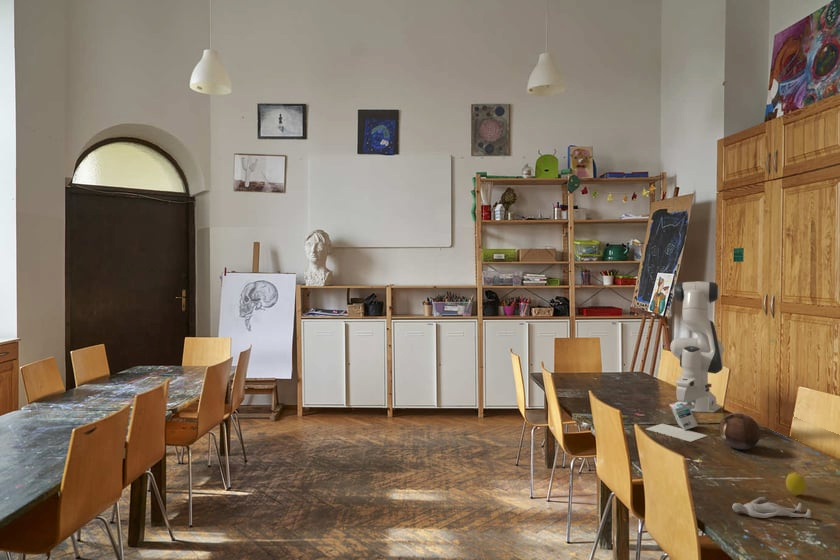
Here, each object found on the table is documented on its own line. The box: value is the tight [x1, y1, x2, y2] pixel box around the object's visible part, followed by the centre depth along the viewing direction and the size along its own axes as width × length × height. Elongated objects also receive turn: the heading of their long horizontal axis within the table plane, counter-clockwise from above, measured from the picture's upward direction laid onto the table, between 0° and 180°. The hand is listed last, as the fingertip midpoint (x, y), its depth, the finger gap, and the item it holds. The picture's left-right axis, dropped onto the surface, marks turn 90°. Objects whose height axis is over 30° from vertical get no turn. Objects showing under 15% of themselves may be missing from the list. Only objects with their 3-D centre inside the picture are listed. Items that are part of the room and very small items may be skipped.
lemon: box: [785, 472, 807, 497], centre depth 174 cm, size 6×6×8 cm
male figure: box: [731, 496, 812, 519], centre depth 162 cm, size 10×4×22 cm
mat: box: [645, 423, 708, 443], centre depth 242 cm, size 14×22×1 cm, turn 34°
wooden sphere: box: [718, 412, 761, 450], centre depth 220 cm, size 15×15×15 cm
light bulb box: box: [669, 401, 699, 430], centre depth 248 cm, size 11×7×11 cm, turn 168°
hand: (691, 408), depth 249 cm, fingers closed
